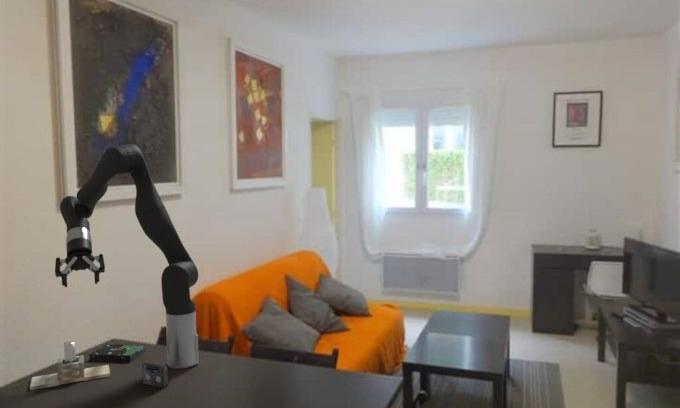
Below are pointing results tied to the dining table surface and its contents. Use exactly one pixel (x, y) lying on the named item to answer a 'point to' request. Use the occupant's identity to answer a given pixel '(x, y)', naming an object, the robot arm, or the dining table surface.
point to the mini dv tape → (155, 375)
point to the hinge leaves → (69, 374)
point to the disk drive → (117, 353)
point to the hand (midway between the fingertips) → (81, 284)
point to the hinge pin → (69, 352)
